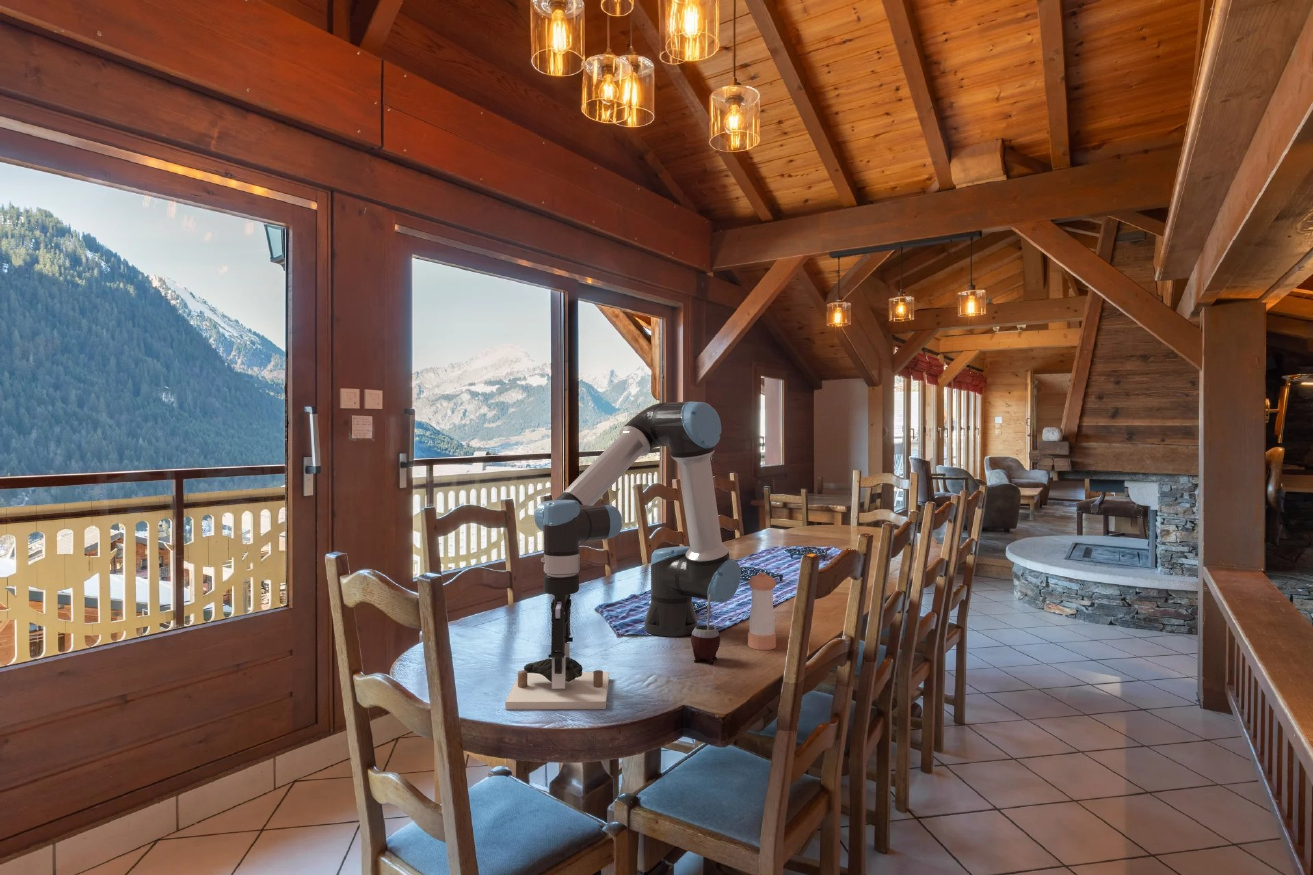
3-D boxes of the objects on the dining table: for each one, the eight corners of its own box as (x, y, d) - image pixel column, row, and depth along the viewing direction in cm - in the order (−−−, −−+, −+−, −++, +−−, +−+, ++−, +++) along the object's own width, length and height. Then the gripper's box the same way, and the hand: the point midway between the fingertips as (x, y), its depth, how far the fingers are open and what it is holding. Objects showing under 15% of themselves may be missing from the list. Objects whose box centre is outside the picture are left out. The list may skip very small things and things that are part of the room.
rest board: (609, 678, 154) (609, 658, 153) (605, 708, 137) (605, 686, 136) (519, 678, 153) (520, 658, 153) (505, 709, 136) (505, 686, 136)
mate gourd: (700, 667, 161) (701, 603, 161) (683, 657, 168) (684, 596, 168) (726, 662, 165) (727, 600, 165) (709, 653, 172) (710, 593, 172)
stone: (533, 668, 151) (536, 644, 151) (586, 683, 146) (590, 658, 146) (516, 675, 144) (520, 649, 145) (571, 691, 140) (575, 664, 140)
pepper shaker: (779, 643, 180) (779, 571, 180) (771, 651, 173) (772, 576, 173) (752, 640, 183) (753, 568, 183) (744, 647, 176) (744, 573, 176)
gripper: (549, 563, 155) (549, 663, 155) (536, 584, 134) (536, 699, 134) (583, 563, 155) (582, 663, 155) (574, 584, 134) (574, 699, 135)
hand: (560, 680), depth 145 cm, fingers closed on stone, 8 cm apart
